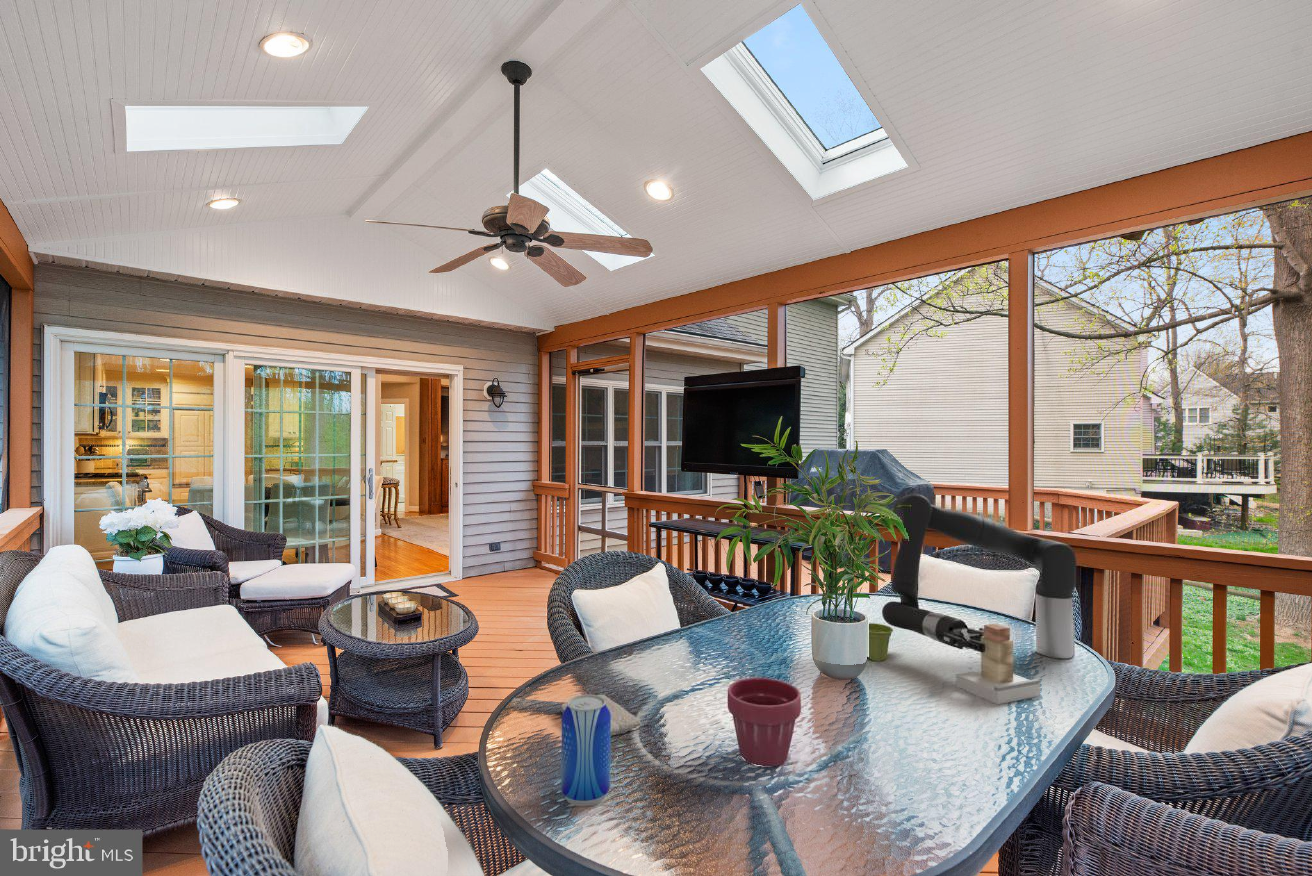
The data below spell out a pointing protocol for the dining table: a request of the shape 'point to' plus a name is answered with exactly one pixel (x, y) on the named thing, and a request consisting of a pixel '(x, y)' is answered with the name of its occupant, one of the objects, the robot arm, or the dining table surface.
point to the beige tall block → (997, 654)
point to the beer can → (585, 750)
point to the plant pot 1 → (764, 718)
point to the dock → (998, 687)
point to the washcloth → (617, 716)
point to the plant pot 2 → (878, 641)
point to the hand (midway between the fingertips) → (996, 646)
